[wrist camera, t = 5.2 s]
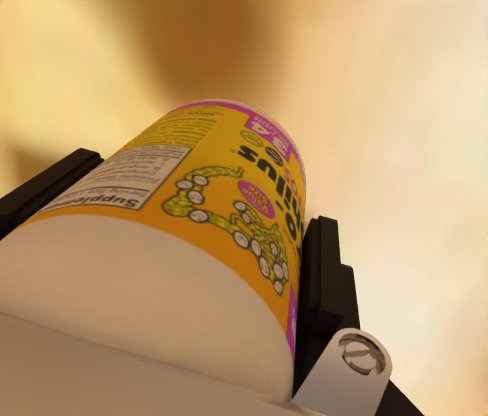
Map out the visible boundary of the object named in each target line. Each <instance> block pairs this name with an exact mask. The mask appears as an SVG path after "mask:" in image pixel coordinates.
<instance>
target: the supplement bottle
mask: <svg viewBox="0 0 488 416" xmlns="http://www.w3.org/2000/svg"><path fill="white" fill-rule="evenodd" d="M305 201H306V176H305V169H304V165H303V161H302V158H301V156H300V154H299V151H298V149H297V147H296V145H295V144H294V142H293V140H292V139H291V137H290V136H289V135H288V133H287V132H286V131H285V130H284V129H283V128H282V127H281V126H280V125H279V124H278V123H277V122H276V121H275V120H274V119H273V118H271V117H270V116H269V115H267V114H266V113H264V112H262V111H261V110H259V109H257V108H255V107H253V106H250V105H248V104H245V103H242V102H238V101H234V100H228V99H203V100H198V101H194V102H191V103H188V104H185V105H183V106H181V107H178V108H176V109H175V110H173V111H171V112H169V113H168V114H166V115H165V116H163V117H162V118H160V119H159V120H158V121H156V122H155V123H154V124H152V125H151V126H150V127H148V128H147V129H146V130H144V131H143V132H142V133H141V134H139V135H138V136H137V137H135V138H134V139H133V140H131V141H130V142H129V143H127V144H126V145H125V146H124V147H122V148H121V149H120V150H118V151H117V152H116V153H114V154H113V155H112V156H110V157H109V158H108V159H107V160H105V161H104V162H103V163H102V164H100V165H99V166H98V167H96V168H95V169H94V170H92V171H91V172H90V173H89V174H87V175H86V176H85V177H83V178H82V179H81V180H79V181H78V182H77V183H75V184H74V185H73V186H71V187H70V188H69V189H67V190H66V191H65V192H63V193H62V194H61V195H59V196H58V197H57V198H55V199H54V200H53V201H51V202H50V203H49V204H48V205H46V206H45V207H44V208H42V209H41V210H40V211H38V212H37V213H35V214H34V215H33V216H31V217H30V218H29V219H27V220H26V221H25V222H24V223H22V224H21V225H19V226H18V227H17V228H16V229H14V230H13V231H12V232H11V233H9V234H8V235H7V236H6V237H5V238H3V239H2V240H1V241H0V313H3V314H7V315H10V316H14V317H17V318H20V319H24V320H27V321H30V322H33V323H36V324H39V325H42V326H45V327H48V328H51V329H54V330H57V331H60V332H64V333H67V334H70V335H73V336H76V337H80V338H83V339H86V340H89V341H93V342H96V343H99V344H103V345H106V346H110V347H113V348H116V349H120V350H123V351H127V352H130V353H134V354H137V355H141V356H144V357H148V358H151V359H155V360H158V361H161V362H165V363H168V364H171V365H174V366H178V367H181V368H184V369H187V370H190V371H194V372H197V373H200V374H203V375H207V376H210V377H213V378H216V379H219V380H223V381H226V382H229V383H232V384H236V385H239V386H242V387H245V388H248V389H251V390H254V391H257V392H260V393H263V394H266V395H269V396H272V397H275V398H278V399H281V400H285V401H288V402H291V400H292V388H293V374H294V358H295V339H296V324H297V312H298V299H299V286H300V272H301V257H302V243H303V230H304V214H305Z"/></svg>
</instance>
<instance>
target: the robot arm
mask: <svg viewBox="0 0 488 416" xmlns="http://www.w3.org/2000/svg"><path fill="white" fill-rule="evenodd" d="M103 162H104V159H103V158H101V156H100V154H99V153H97V152H94V151H90V150H87V149H83V148H79V149H77V150H76V151H74V152H73V153H71V154H70V155H68V156H66V157H65V158H63V159H62V160H60V161H59V162H57V163H55V164H54V165H52V166H51V167H49V168H48V169H46V170H45V171H43V172H41V173H40V174H38V175H37V176H35V177H34V178H32V179H30V180H29V181H27V182H26V183H24V184H23V185H21V186H20V187H18V188H16V189H15V190H13V191H12V192H10V193H9V194H7V195H5V196H4V197H2V198H1V199H0V241H1V240H2V239H3V238H5V237H6V236H7V235H8V234H9V233H11V232H12V231H13V230H14V229H16V228H17V227H18V226H19V225H21V224H22V223H24V222H25V221H26V220H27V219H29V218H30V217H31V216H33V215H34V214H35V213H37V212H38V211H40V210H41V209H42V208H44V207H45V206H46V205H48V204H49V203H50V202H51V201H53V200H54V199H55V198H57V197H58V196H59V195H61V194H62V193H63V192H65V191H66V190H67V189H69V188H70V187H71V186H73V185H74V184H75V183H77V182H78V181H79V180H81V179H82V178H83V177H85V176H86V175H87V174H89V173H90V172H91V171H92V170H94V169H95V168H96V167H98V166H99V165H100V164H102V163H103ZM391 372H392V362H391V358H390V356H389V354H388V352H387V350H386V349H385V347H384V346H383V345H382V344H381V343H380V342H379V341H378V340H377V339H376V338H374V337H373V336H372V335H370V334H368V333H366V332H364V331H362V330H360V321H359V313H358V305H357V297H356V289H355V281H354V273H353V268H352V267H351V266H347V265H344V264H341V261H340V248H339V235H338V223H337V220H334V219H330V218H327V217H323V216H319V217H318V219H314V218H312V219H311V221H310V223H309V226H308V228H307V231H306V233H305V236H304V239H303V243H302V257H301V272H300V286H299V299H298V312H297V324H296V339H295V358H294V374H293V388H292V400H291V402H288V401H285V400H281V399H278V398H275V397H272V396H269V395H266V394H263V393H260V392H257V391H254V390H251V389H248V388H245V387H242V386H239V385H236V384H232V383H229V382H226V381H223V380H219V379H216V378H213V377H210V376H207V375H203V374H200V373H197V372H194V371H190V370H187V369H184V368H181V367H178V366H174V365H171V364H168V363H165V362H161V361H158V360H155V359H151V358H148V357H144V356H141V355H137V354H134V353H130V352H127V351H123V350H120V349H116V348H113V347H110V346H106V345H103V344H99V343H96V342H93V341H89V340H86V339H83V338H80V337H76V336H73V335H70V334H67V333H64V332H60V331H57V330H54V329H51V328H48V327H45V326H42V325H39V324H36V323H33V322H30V321H27V320H24V319H20V318H17V317H14V316H10V315H7V314H3V313H0V416H424V415H423V414H422V413H421V412H420V411H419V410H418V409H417V408H416V407H415V405H414V404H413V403H412V402H411V401H410V400H409V399H408V398H407V397H406V396H405V395H404V394H403V393H402V392H401V391H400V390H399V389H398V388H397V387H396V386H395V385H394V383H393V382H392V381H391V380H390V379H389V378H390V375H391Z"/></svg>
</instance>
